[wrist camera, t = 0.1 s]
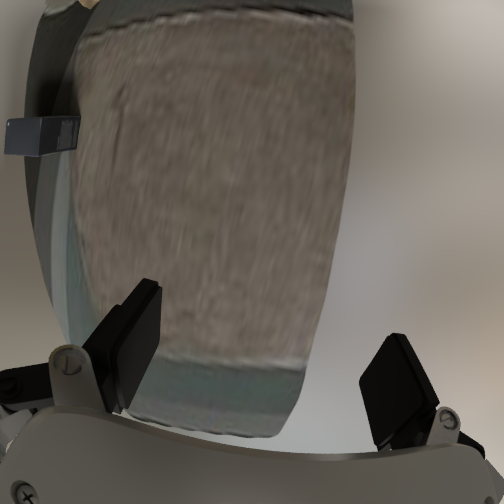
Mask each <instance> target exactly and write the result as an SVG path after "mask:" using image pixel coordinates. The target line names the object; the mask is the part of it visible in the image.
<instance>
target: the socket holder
mask: <svg viewBox="0 0 504 504" xmlns="http://www.w3.org/2000/svg"><path fill="white" fill-rule="evenodd" d="M78 1H79V2H80V3H81V4H82V5H83V6H85V7H87V8H88V9H91V8H92V7H93V6H94V5H95V4H96V3H97V2H99V1H100V0H78Z"/></svg>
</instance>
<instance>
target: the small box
mask: <svg viewBox="0 0 504 504" xmlns="http://www.w3.org/2000/svg"><path fill="white" fill-rule="evenodd" d="M80 120H81V116H41V117H27V118H16V119H8V120H7V125H6V136H5V149H4V150H5V151H4V154H8V155H9V154H10V155H22V156H33V157H39V156H43V155H49V154H53V153H59V152H64V151H70V150H75V149H76V148H77V140H78V133H79V127H80Z"/></svg>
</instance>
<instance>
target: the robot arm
mask: <svg viewBox="0 0 504 504" xmlns="http://www.w3.org/2000/svg"><path fill="white" fill-rule="evenodd" d="M161 302H162V287H160V286H158V282H157V281H153V280H150V279H146V278H143V279H142V280H141V281H140V283H139V284H138V285H137V286H136V287H135V289H134V290H133V291H132V292H131V294H130V295H129V296H128V297H127V299H126V300H125V301H124V302H123V303H122V305H118V304H117V305H115V306H114V307H113V308H112V309H111V310H110V312H109V313H108V314H107V315H106V317H105V318H104V319H103V320H102V322H101V323H100V324H99V325H98V327H97V328H96V329H95V330H94V332H93V333H92V334H91V336H90V337H89V338H88V339H87V341H86V342H85V343H84V345H83V346H82V347H79V346H76V345H63V346H60V347H58V348H56V349H55V350H54V351H53V352H52V353H51V355H50V357H49V362H48V363H42V364H37V365H31V366H25V367H19V368H12V369H6V370H3V371H1V372H0V504H499V503H500V501H501V499H502V497H503V495H504V479H503V477H502V476H501V475H500V474H499V473H498V472H497V470H496V469H495V468H494V467H493V466H492V465H491V464H490V462H489V461H488V460H487V459H486V460H485V451H484V448H483V446H482V445H480V444H479V443H478V442H476V441H475V440H473V439H472V438H470V437H469V436H467V435H465V434H464V433H462V432H461V431H460V419H459V417H458V415H457V414H456V413H455V411H453V410H452V409H451V408H448V407H440V408H439V409H438V410H436V407H437V406H438V404H439V403H440V402H439V400H438V397H437V395H436V393H435V391H434V389H433V387H432V385H431V383H430V381H429V379H428V377H427V375H426V373H425V371H424V369H423V367H422V365H421V363H420V361H419V359H418V357H417V355H416V353H415V352H414V350H413V348H412V346H411V344H410V342H409V341H408V339H407V337H406V336H405V335H404V334H399V333H392V334H391V335H390V336H387V338H386V339H385V341H384V342H383V344H382V345H381V347H380V349H379V350H378V352H377V353H376V355H375V357H374V358H373V360H372V361H371V363H370V364H369V366H368V367H367V369H366V370H365V371H364V373H363V374H362V376H361V377H360V380H359V386H360V390H361V394H362V397H363V401H364V405H365V409H366V412H367V416H368V420H369V424H370V429H371V433H372V437H373V441H374V444H375V445H376V446H377V449H378V452H367V453H348V454H347V453H346V454H310V453H291V452H278V451H268V450H259V449H252V448H245V447H238V446H232V445H226V444H221V443H216V442H211V441H206V440H202V439H197V438H194V437H189V436H185V435H181V434H177V433H174V432H170V431H166V430H163V429H159V428H156V427H153V426H150V425H147V424H144V423H140V422H137V421H133V420H131V419H127V418H124V417H121V416H118V415H114V414H112V412H115V413H118V414H121V412H122V410H123V408H125V409H128V408H129V406H130V404H131V402H132V399H133V397H134V395H135V393H136V391H137V389H138V386H139V384H140V382H141V380H142V378H143V376H144V374H145V372H146V370H147V368H148V365H149V363H150V361H151V359H152V357H153V355H154V353H155V351H156V349H157V347H158V344H159V340H160V321H161ZM16 435H17V436H16ZM13 439H14V440H13ZM11 440H13V442H12V443H11V445H10V447H9V449H8V451H7V453H6V447H7V444H8V443H9V442H10V441H11ZM390 449H392V450H390Z"/></svg>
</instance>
